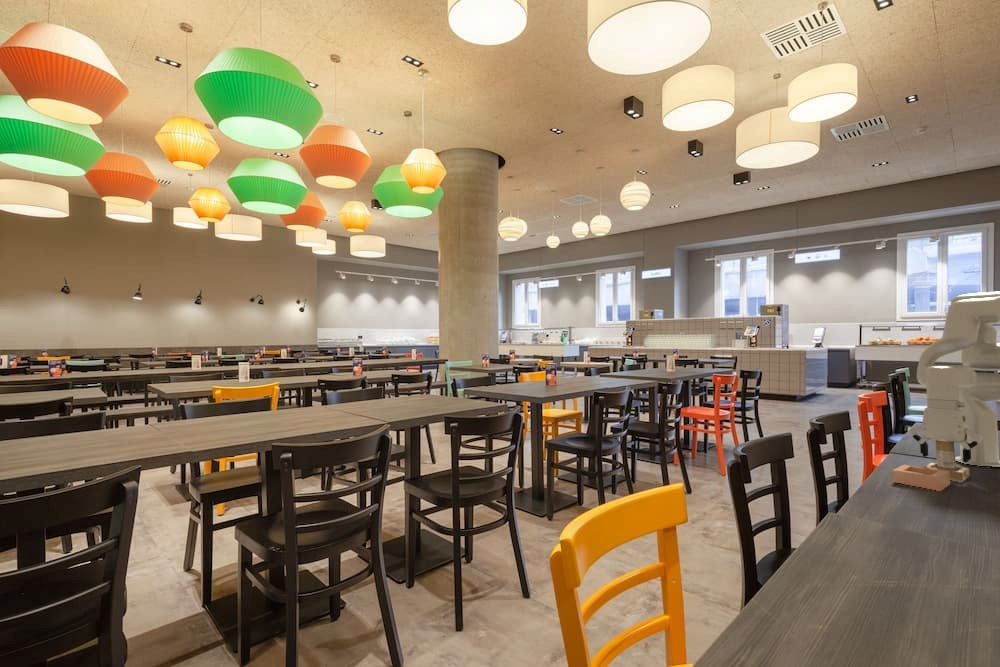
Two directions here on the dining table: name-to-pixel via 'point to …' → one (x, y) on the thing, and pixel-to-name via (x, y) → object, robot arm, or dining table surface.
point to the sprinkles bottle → (945, 455)
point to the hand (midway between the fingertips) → (945, 458)
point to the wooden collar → (953, 472)
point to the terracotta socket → (922, 477)
